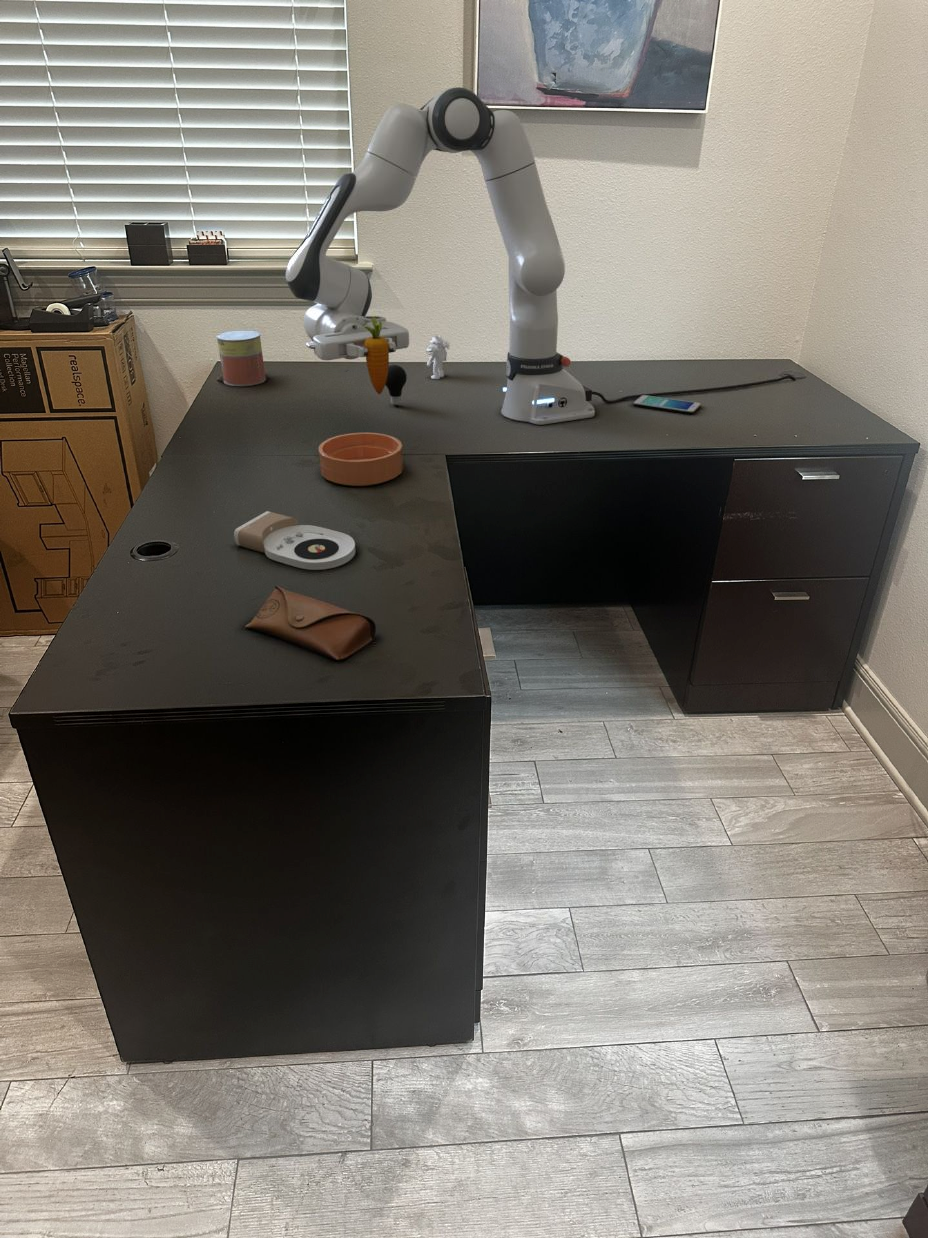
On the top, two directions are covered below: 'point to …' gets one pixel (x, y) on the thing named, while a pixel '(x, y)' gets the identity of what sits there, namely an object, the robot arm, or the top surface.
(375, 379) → the carrot
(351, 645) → the sunglasses case
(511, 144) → the robot arm
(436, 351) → the hat wearing toy figure
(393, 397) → the light bulb
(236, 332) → the canned food
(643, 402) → the smartphone
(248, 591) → the top surface
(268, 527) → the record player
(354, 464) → the pot
